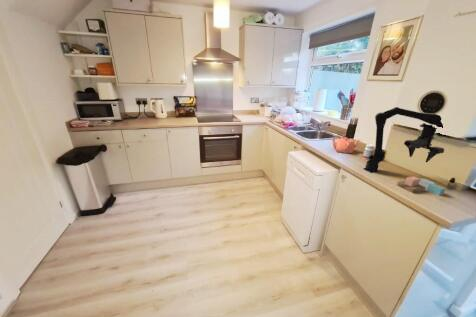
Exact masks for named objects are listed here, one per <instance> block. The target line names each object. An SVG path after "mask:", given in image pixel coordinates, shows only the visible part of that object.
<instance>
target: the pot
mask: <svg viewBox="0 0 476 317" xmlns="http://www.w3.org/2000/svg"><path fill="white" fill-rule="evenodd" d="M330 139H331V141H332V146H333V149H334V150H336V152H337V153H343V154H352V153H353V152H354V150H355V149H356V147H357V145H358V142H360V141H361V139H356V140H355V142H354V140H353V139H351V138H348V137H344V136H343V135H341V136H340V137H339V138H336V139H335V138H333V137H330ZM335 140H336V141H335Z"/></svg>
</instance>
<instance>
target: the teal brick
mask: <svg viewBox="0 0 476 317" xmlns="http://www.w3.org/2000/svg"><path fill="white" fill-rule="evenodd" d="M446 190H447V188H445V187H443V186H441V185H438V184H437V183H436V184H429V186H428V188H427V189H426V191H427V192H430V193H432V194H435V195H437V196H443V195H444V194H445V192H446Z"/></svg>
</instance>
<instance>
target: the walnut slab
mask: <svg viewBox="0 0 476 317" xmlns="http://www.w3.org/2000/svg"><path fill="white" fill-rule="evenodd" d="M405 181H406V180H401V181H398V182H397V184H396V186H398V187H399V188H401V189H404V190H406V191H408V192H410V193H411V192H412V194H414V193H422V192H425V190H426V187H424V186H422V185H419V184H418V185H416V186H409V185H407V184H405Z"/></svg>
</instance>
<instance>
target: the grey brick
mask: <svg viewBox="0 0 476 317" xmlns="http://www.w3.org/2000/svg"><path fill="white" fill-rule="evenodd" d="M429 184H436V185H437V182H434V181H432V180H429V179H427V178H420V182H419V185H422V186H424V187H426V188H425V190H427V188H428V186H429Z"/></svg>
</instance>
